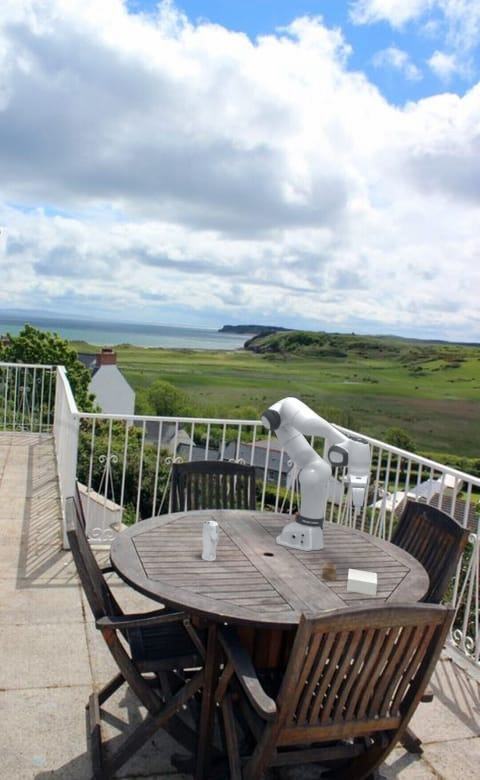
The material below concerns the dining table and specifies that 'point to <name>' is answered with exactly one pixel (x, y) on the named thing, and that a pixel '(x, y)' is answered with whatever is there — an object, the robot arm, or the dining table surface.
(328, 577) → the walnut cube
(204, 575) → the dining table surface
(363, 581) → the base block
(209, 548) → the white cylinder
